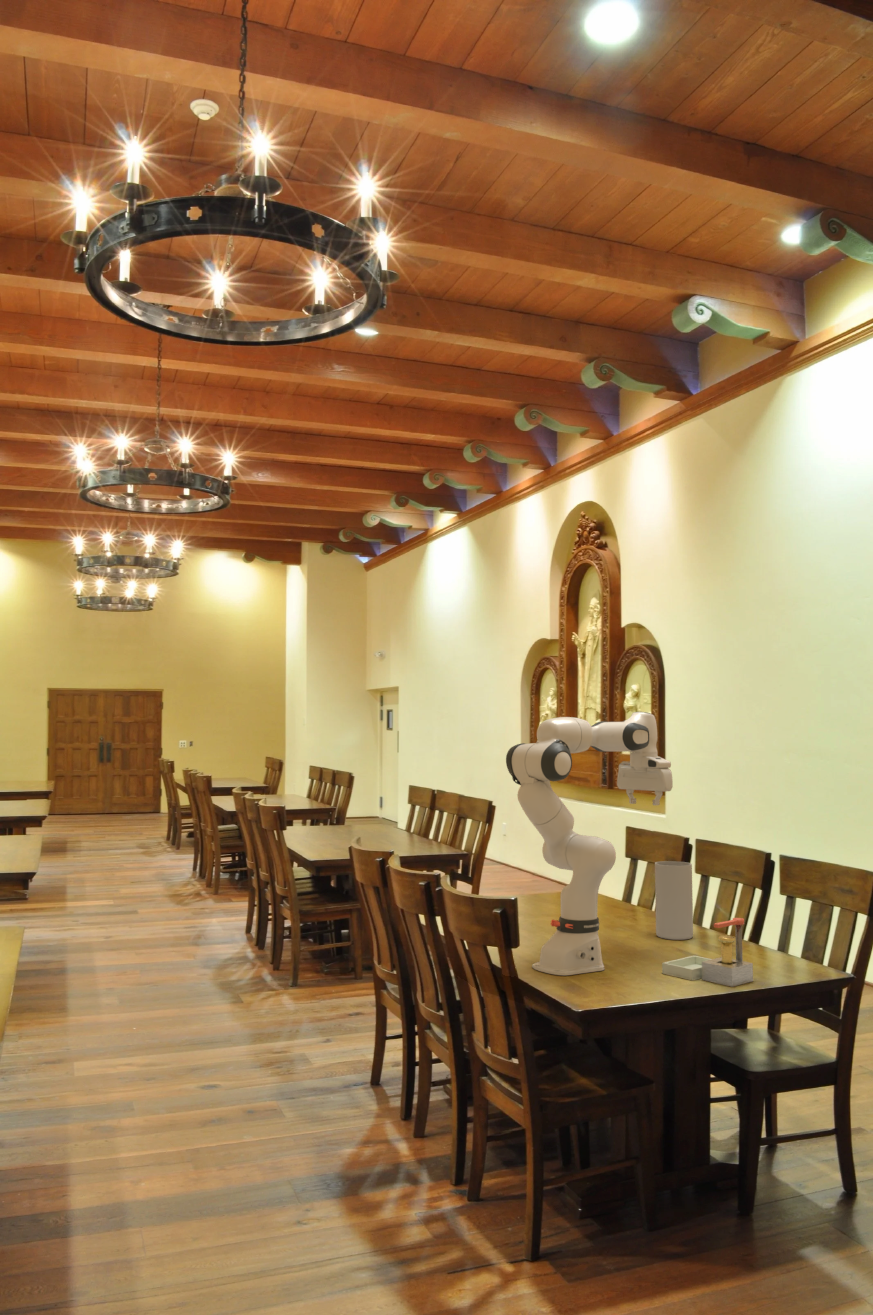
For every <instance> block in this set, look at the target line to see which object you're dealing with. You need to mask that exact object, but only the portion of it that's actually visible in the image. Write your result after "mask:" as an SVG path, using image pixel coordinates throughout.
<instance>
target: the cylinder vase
mask: <svg viewBox="0 0 873 1315" xmlns="http://www.w3.org/2000/svg"><path fill="white" fill-rule="evenodd" d="M654 882H655V883H654V886H655V887H654V888H655V889H654V890H655V896H654V897H655V934H656V936H657V937H658V938H660V939H664V940H671V941H685V940H689V939H692V938H693V937H694V910H693V905H694V902H693V901H694V900H693V863H690V862H685V861H677V860H676V861H674V860H673V861H672V860H668V861H667V860H664V861H656V862H654Z"/></svg>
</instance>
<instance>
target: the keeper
mask: <svg viewBox="0 0 873 1315" xmlns="http://www.w3.org/2000/svg"><path fill="white" fill-rule="evenodd" d="M735 925H742V926H743V925H745V918H741V917H733V918H732V919H730V920H726V921H720V922H716V923H713V928H717V929H722V928H725V927H730V926H735Z"/></svg>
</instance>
